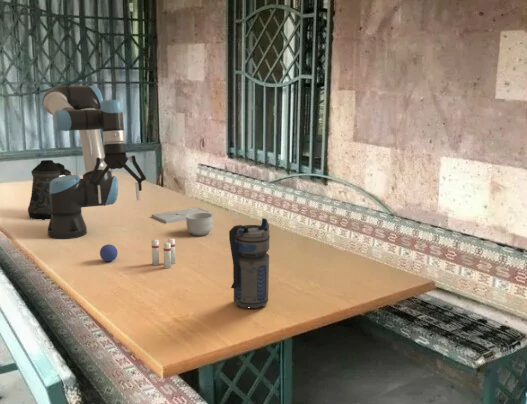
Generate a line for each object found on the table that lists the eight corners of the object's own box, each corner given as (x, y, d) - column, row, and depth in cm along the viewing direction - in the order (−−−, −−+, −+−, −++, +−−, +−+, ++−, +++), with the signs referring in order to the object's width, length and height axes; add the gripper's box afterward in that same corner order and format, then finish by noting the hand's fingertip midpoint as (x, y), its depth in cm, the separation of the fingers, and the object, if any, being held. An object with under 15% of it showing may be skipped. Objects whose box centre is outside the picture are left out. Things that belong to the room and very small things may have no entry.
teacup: (208, 238, 247) (208, 218, 245) (182, 236, 249) (182, 217, 247) (217, 229, 260) (217, 211, 258) (193, 227, 262) (192, 209, 260)
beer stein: (20, 217, 273) (16, 162, 268) (50, 208, 291) (47, 156, 286) (49, 221, 267) (46, 165, 262) (78, 212, 285) (76, 159, 280)
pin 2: (167, 263, 214) (166, 240, 212) (169, 261, 217) (168, 238, 215) (174, 264, 214) (173, 240, 212) (176, 262, 216) (175, 238, 214)
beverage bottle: (219, 304, 179) (220, 221, 173) (255, 294, 187) (256, 214, 182) (240, 315, 171) (241, 228, 166) (277, 304, 179) (279, 221, 174)
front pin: (151, 265, 212) (150, 241, 211) (153, 262, 215) (152, 239, 213) (158, 265, 212) (157, 241, 210) (160, 263, 214) (159, 239, 213)
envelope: (151, 218, 279) (166, 225, 268) (151, 213, 279) (166, 220, 268) (197, 210, 293) (212, 216, 282) (197, 206, 293) (212, 212, 282)
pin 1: (162, 268, 209) (162, 244, 207) (165, 266, 212) (164, 242, 210) (169, 268, 209) (169, 244, 207) (172, 266, 211) (171, 242, 209)
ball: (97, 263, 213) (96, 246, 212) (104, 258, 219) (103, 241, 218) (113, 264, 213) (113, 247, 211) (120, 259, 218) (119, 242, 217)
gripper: (79, 144, 215) (84, 204, 216) (150, 140, 223) (155, 199, 224) (78, 145, 222) (83, 204, 224) (147, 142, 230) (152, 198, 231)
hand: (119, 201), depth 224 cm, fingers open, 13 cm apart
